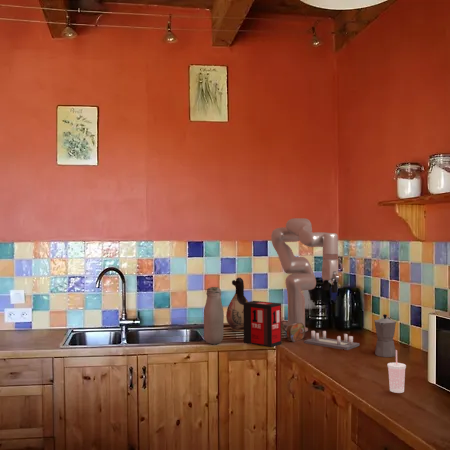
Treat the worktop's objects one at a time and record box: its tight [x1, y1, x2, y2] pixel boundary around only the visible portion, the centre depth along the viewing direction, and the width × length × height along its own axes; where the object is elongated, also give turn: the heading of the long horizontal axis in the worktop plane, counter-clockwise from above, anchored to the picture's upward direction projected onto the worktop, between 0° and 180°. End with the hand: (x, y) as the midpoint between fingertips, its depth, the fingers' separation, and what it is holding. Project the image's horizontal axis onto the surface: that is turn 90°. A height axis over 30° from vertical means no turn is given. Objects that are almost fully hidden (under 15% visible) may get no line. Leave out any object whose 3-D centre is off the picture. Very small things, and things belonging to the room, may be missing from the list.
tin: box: [286, 323, 306, 343], centre depth 261 cm, size 15×3×8 cm, turn 143°
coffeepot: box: [374, 314, 397, 358], centre depth 229 cm, size 15×9×18 cm, turn 150°
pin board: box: [304, 330, 360, 351], centre depth 250 cm, size 24×12×5 cm, turn 47°
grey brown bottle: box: [203, 286, 225, 345], centre depth 254 cm, size 10×10×28 cm
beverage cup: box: [387, 349, 407, 394], centre depth 177 cm, size 6×6×14 cm
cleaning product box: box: [243, 300, 283, 348], centre depth 254 cm, size 16×9×20 cm, turn 51°
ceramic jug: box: [225, 277, 249, 333], centre depth 288 cm, size 17×15×30 cm
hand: (330, 291), depth 259 cm, fingers open, 9 cm apart
